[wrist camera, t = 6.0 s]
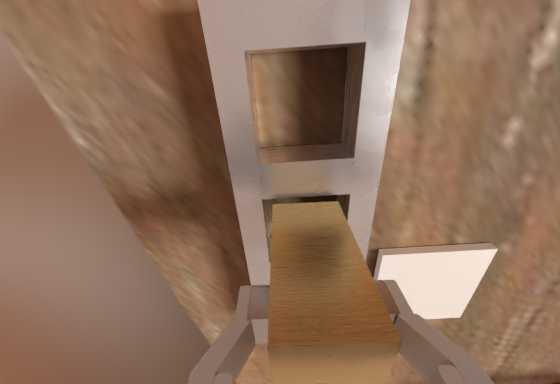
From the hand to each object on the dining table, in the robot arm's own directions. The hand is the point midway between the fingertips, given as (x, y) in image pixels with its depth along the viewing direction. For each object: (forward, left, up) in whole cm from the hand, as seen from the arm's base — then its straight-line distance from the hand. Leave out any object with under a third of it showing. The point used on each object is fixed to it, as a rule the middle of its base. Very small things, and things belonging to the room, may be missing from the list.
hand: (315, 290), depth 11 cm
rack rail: (+1, 0, -8) cm, 8 cm away
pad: (+11, +12, -8) cm, 18 cm away
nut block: (0, 0, -5) cm, 5 cm away
